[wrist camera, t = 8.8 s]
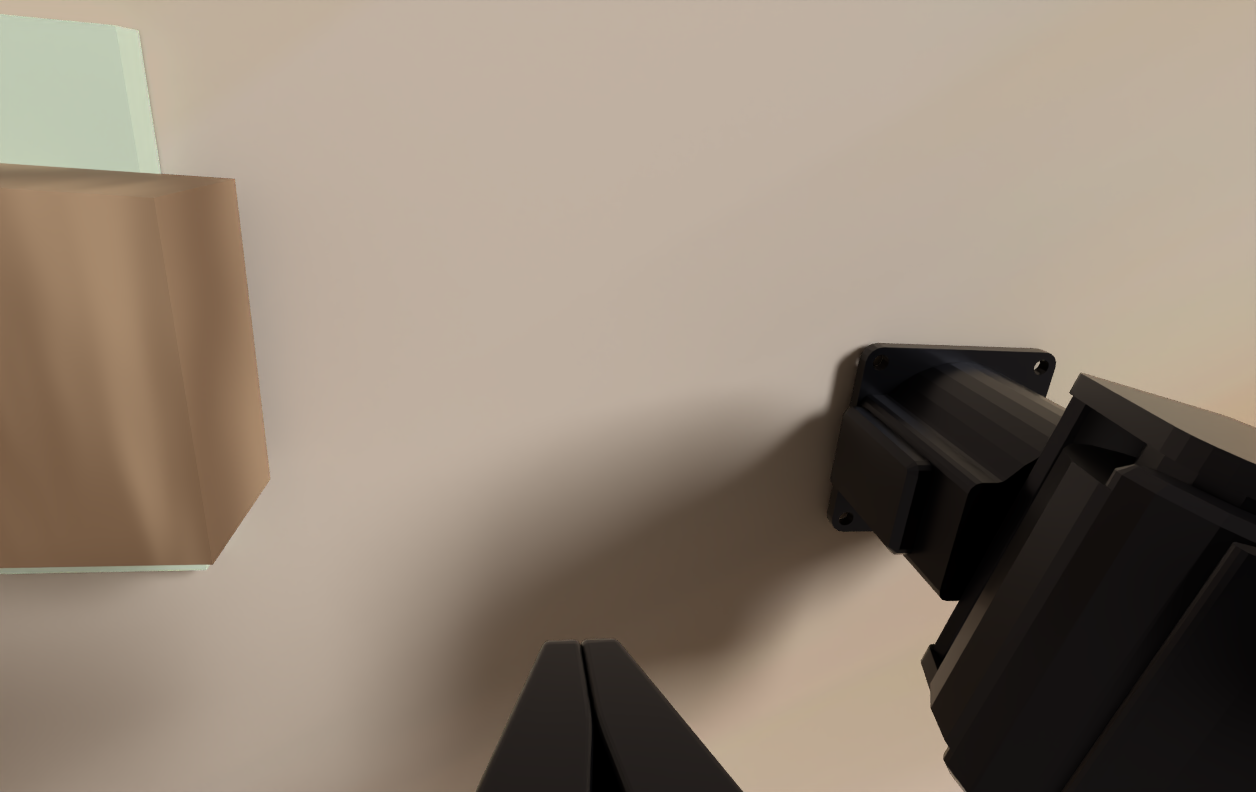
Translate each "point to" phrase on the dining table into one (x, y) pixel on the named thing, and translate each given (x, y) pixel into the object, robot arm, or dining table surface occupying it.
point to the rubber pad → (75, 120)
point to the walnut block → (124, 369)
